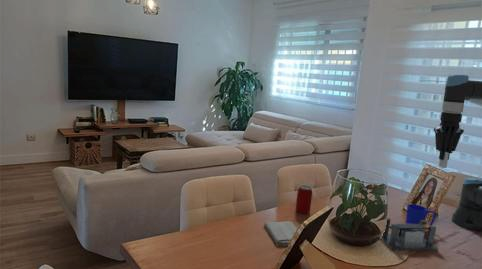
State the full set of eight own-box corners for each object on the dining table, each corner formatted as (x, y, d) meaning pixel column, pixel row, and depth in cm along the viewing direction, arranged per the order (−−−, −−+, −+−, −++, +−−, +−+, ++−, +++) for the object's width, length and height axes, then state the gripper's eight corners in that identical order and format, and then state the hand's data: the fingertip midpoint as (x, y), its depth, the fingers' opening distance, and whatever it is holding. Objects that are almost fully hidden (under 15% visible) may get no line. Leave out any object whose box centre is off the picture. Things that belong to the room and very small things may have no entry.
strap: (427, 225, 146) (427, 222, 146) (433, 230, 142) (434, 227, 142) (386, 225, 143) (386, 222, 143) (391, 230, 139) (392, 227, 139)
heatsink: (418, 236, 151) (421, 216, 149) (437, 250, 139) (442, 229, 138) (375, 235, 148) (378, 215, 146) (391, 250, 136) (395, 228, 134)
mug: (435, 235, 154) (439, 213, 152) (406, 230, 156) (410, 209, 154) (429, 227, 162) (433, 206, 160) (401, 223, 164) (405, 202, 162)
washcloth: (277, 247, 131) (278, 240, 130) (262, 226, 148) (263, 219, 147) (306, 246, 134) (307, 239, 133) (289, 225, 151) (289, 219, 150)
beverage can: (311, 211, 168) (315, 187, 166) (306, 215, 162) (309, 190, 160) (298, 207, 171) (301, 184, 169) (293, 211, 166) (296, 187, 164)
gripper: (458, 111, 151) (449, 164, 155) (431, 110, 148) (423, 164, 152) (472, 114, 143) (462, 169, 148) (445, 112, 141) (435, 169, 145)
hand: (442, 167), depth 150 cm, fingers closed
